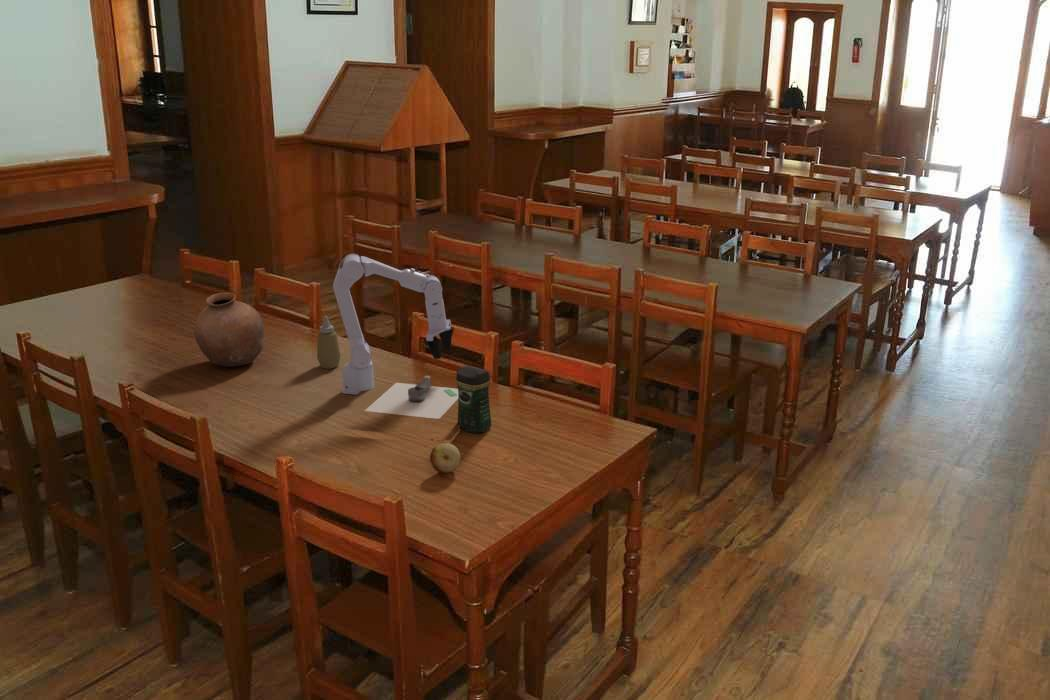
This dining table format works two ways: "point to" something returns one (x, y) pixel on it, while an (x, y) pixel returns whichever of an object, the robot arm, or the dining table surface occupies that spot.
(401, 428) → the dining table surface
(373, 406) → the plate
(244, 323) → the pottery
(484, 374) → the coffee jar
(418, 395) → the grey measuring scoop
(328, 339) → the squeeze bottle
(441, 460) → the fruit
